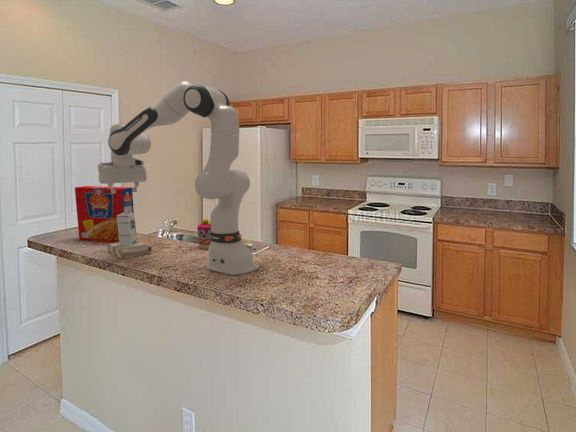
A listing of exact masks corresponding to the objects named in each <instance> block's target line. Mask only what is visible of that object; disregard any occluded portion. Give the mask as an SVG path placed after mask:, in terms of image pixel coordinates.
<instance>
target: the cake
mask: <svg viewBox="0 0 576 432" xmlns="http://www.w3.org/2000/svg"><path fill="white" fill-rule="evenodd" d="M210 231H211V219H210V220H209V219H208V218H203V219H202V220H201V223H199V224H198V225H197V236H198V238H197V241H198V248H199V249H200V250H209V247H210V244H211V240H210Z"/></svg>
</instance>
